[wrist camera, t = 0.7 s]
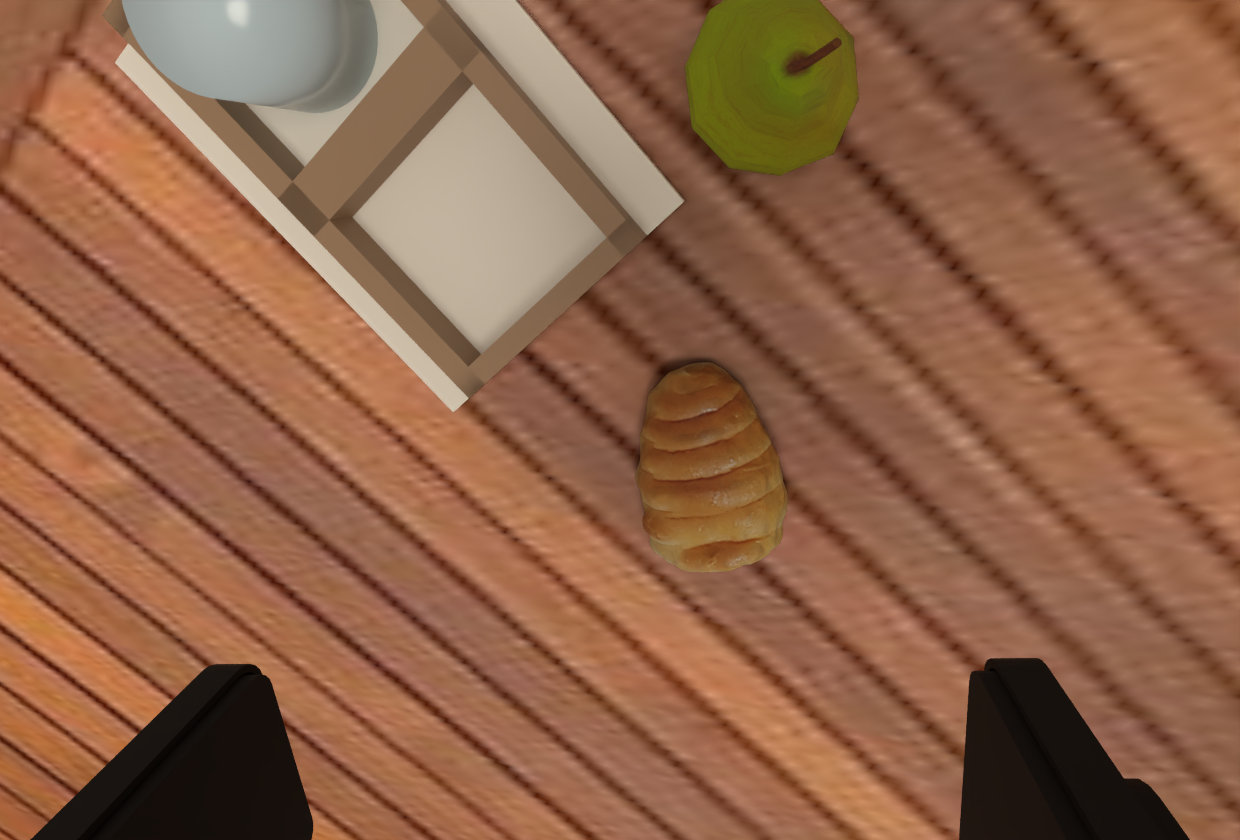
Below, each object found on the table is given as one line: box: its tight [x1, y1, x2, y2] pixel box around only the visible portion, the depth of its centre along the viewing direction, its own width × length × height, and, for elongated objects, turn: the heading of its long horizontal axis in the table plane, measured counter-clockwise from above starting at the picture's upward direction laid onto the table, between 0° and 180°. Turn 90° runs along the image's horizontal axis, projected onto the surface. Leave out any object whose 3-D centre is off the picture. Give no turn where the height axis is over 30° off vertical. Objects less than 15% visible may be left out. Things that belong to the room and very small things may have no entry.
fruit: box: [685, 0, 859, 176], centre depth 23 cm, size 6×6×12 cm
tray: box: [102, 0, 685, 412], centre depth 29 cm, size 14×20×3 cm
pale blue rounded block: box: [122, 0, 378, 113], centre depth 26 cm, size 6×6×6 cm
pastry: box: [635, 362, 788, 572], centre depth 32 cm, size 9×7×4 cm
